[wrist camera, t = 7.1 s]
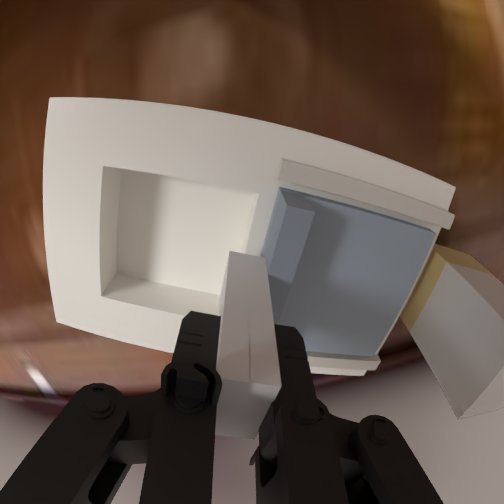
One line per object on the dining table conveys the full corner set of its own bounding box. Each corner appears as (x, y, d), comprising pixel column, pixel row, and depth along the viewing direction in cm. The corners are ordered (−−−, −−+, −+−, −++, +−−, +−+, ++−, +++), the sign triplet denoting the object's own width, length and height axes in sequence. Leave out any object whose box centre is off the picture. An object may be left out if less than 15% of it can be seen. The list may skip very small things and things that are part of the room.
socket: (75, 295, 18) (51, 328, 15) (79, 97, 13) (41, 97, 9) (351, 346, 21) (366, 383, 17) (426, 173, 15) (464, 191, 12)
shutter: (239, 334, 16) (238, 370, 13) (278, 186, 12) (287, 205, 10) (370, 349, 17) (383, 380, 14) (429, 228, 13) (458, 251, 11)
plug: (392, 304, 19) (457, 419, 10) (422, 239, 17) (521, 340, 8) (440, 311, 20) (506, 406, 11) (469, 254, 18) (557, 340, 9)
